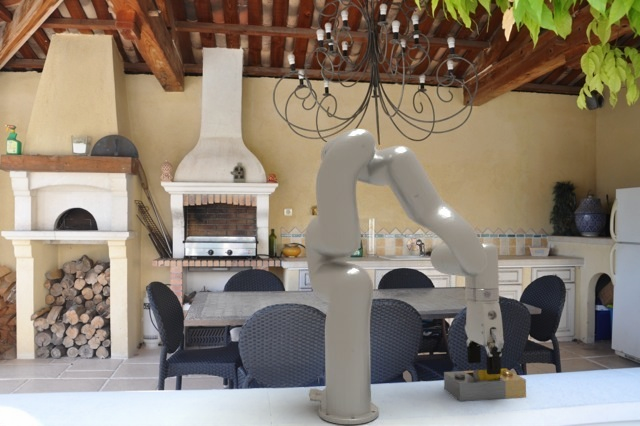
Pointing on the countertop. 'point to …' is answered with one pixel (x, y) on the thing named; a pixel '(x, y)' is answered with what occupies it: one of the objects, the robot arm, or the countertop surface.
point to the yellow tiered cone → (484, 376)
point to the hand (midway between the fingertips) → (483, 368)
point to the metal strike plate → (484, 386)
